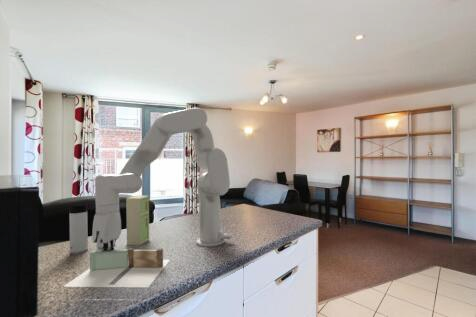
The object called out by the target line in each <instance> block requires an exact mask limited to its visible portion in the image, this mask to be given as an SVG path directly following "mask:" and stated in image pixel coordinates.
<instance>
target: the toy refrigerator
mask: <svg viewBox="0 0 476 317" xmlns="http://www.w3.org/2000/svg"><path fill="white" fill-rule="evenodd" d="M149 198H150V197H149V195H140V194H139V195H138V194H137V195H133V196H130V197H126V200H125V201H126V202H125V203H126V204H125V205H126V206H125V208H126V211H125V212H126V245H128V246H141V245H143V244H145V243H147V242H148V241H150V203H149V202H150V200H149Z"/></svg>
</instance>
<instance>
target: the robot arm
mask: <svg viewBox="0 0 476 317" xmlns="http://www.w3.org/2000/svg"><path fill="white" fill-rule="evenodd" d="M207 122H208V114H207V112H206V111H205V110H204V109H203V108H200V107H191V108H187V109H183V110H182V109H181V110H177V111H172V112H167V113H164V114H162V115H160V116H158V117H157V118H156V119H155V120H154V121H153V123H152V125H151V126H150V127H149V130H148V131H147V133H146V134H145V136H144V137H143V139H142V140H141V142H140V144H138V145H139V146H137V148H136V149H135V151H134V152H133V154H132V155H131V156H130V158H129V159H128V160H127V162H126V163H125V164H124V167H123V168H122V169H121V171H120V173H119V174H115V173H114V174H113V173H109V174H105V173H104V174H98V175H97V176H95V179H94V183H95V184H94V188H95V193H94V194H95V195H94V196H95V214H94V216H93V221H92V234H91V238H92V239H91V240H92V243H93V244H95V245H96V246H95V247H96V248H97V249H98V248H101V251H110V250H115V247H116V242H117V240H119V238H120V236H121V235H122V219H121V212H120V194H135V193H137V192H139V191H140V190H141V189H142V187H143V179H142V174H144V171H146V169H147V167H148V166H149V165H150V164H152V163H153V162H154V161H156V160H157V159H158V158H159V157H160V156H161V154H162V152H163V150H164V148H166V145H168V142H169V141H170V139H171V137H172V136H173V135H177V134H183V133H186V132H188V134H190V136H191V137H192V139H193V143H194V150H195V159H196V163H197V164H196V165H197V166H198V167H199V168H200V169H201V170H207V172H204V173H202V174H201V175H200V176H199V177H198V178H197V183H196V187H197V194H198V201H199V202H198V205H199V207H198V208H199V209H198V210H199V212H198V215H199V219H198V220H199V237H198V238H197V239H196V244H197V246H200V247H206V248H210V247H213V248H214V247H218V246H221V245H223V244H224V243H225V240H231V239H232V238H231V236H232V235H231V234H229V233H223V230H222V227H221V225H222V222H221V221H222V220H221V218H222V217H221V199H220V198H221V196H224V195H225V194H227V193H228V192H229V189H230V184H231V182H230V181H231V180H230V173H229V172H230V171H229V165H228V164H229V163H228V159H227V156H226V153H225V152H224V151H223V150H222V149H220V148H218V147H215V143H214V138H213V134H212V132H211V130H210V128H209V126H208V125H207Z"/></svg>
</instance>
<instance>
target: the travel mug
mask: <svg viewBox="0 0 476 317" xmlns="http://www.w3.org/2000/svg"><path fill="white" fill-rule="evenodd" d="M68 214H69V216H68V217H69V218H68V219H69V254H70V255H72V256H76V255H79V254H83V253H86V252H87V251H89V246H88V245H89V244H88V242H89V239H88V238H89V236H88V204H75V205H69V213H68Z"/></svg>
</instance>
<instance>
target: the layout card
mask: <svg viewBox="0 0 476 317" xmlns="http://www.w3.org/2000/svg"><path fill="white" fill-rule="evenodd" d="M170 261H171V260H170V259H163V266H162V268H161V267H134V266H133V267H128V266H127V267H119V268H108V269H97V270H90V267H89V268H88V269H86V270H85V271H83V272H82V273H81V274H79V275H78V276H76V277H75V278H73V279H72V280H70V281H69V282H68V283H66V284H64V285H63V287H64V288H67V287H68V288H149V287H150V286H151V285H152V283H153V282H154V281H155V279H156V278H157V277H158V276H159V275H160V274H161V272H162V271H163V270H164V268H165V267H166V265H167V264H168V263H169V262H170Z"/></svg>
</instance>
